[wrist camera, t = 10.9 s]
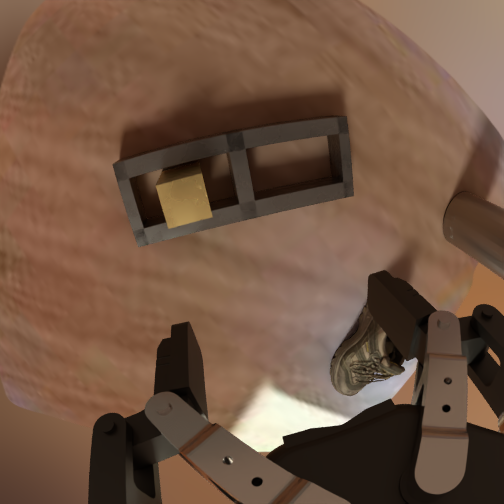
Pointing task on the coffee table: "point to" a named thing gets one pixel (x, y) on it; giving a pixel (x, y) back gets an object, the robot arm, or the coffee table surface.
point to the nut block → (183, 195)
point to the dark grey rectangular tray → (239, 175)
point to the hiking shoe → (365, 357)
